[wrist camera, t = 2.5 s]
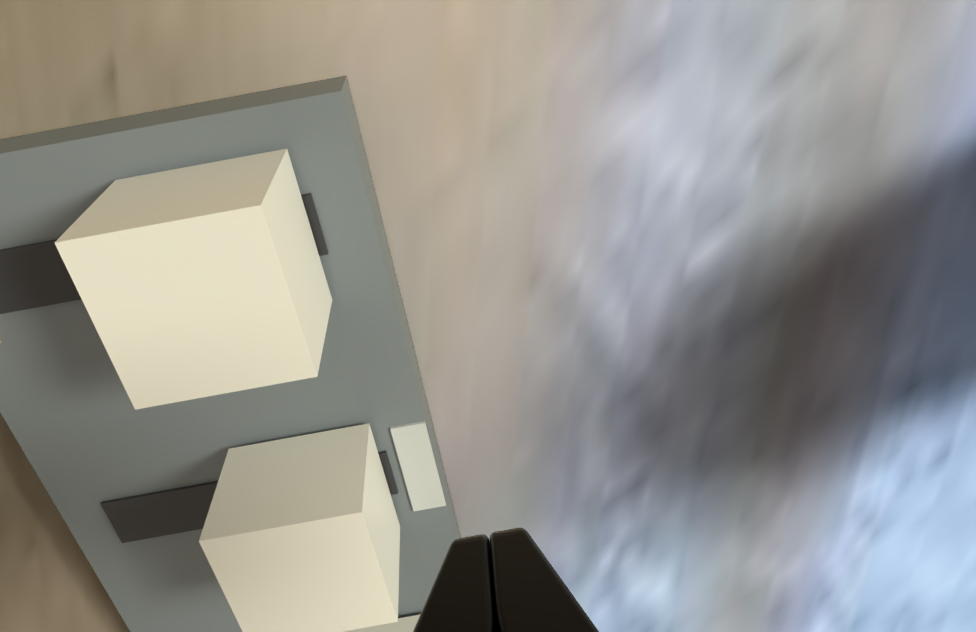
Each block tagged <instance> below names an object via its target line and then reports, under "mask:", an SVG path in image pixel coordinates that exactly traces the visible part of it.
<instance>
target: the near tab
mask: <svg viewBox="0 0 976 632" xmlns="http://www.w3.org/2000/svg"><path fill="white" fill-rule="evenodd" d="M55 245H56V247H57V249H58V251H59V253H60V256H61V258H62V260H63V262H64V264H65V266H66V268H67V270H68V272H69V274H70V276H71V278H72V280H73V282H74V284H75V287H76V289H77V291H78V293H79V295H80V297H81V299H82V301H83V303H84V305H85V307H86V309H87V311H88V313H89V315H90V318H91V320H92V322H93V324H94V326H95V328H96V330H97V332H98V334H99V336H100V338H101V340H102V342H103V344H104V346H105V349H106V351H107V353H108V355H109V357H110V359H111V361H112V363H113V365H114V367H115V369H116V371H117V373H118V375H119V377H120V380H121V382H122V384H123V386H124V388H125V390H126V392H127V394H128V396H129V398H130V400H131V402H132V404H133V406H134V408H135V410H136V409H142V408H147V407H153V406H158V405H164V404H169V403H175V402H181V401H186V400H192V399H197V398H203V397H208V396H214V395H219V394H225V393H230V392H236V391H241V390H247V389H252V388H258V387H264V386H269V385H275V384H280V383H286V382H291V381H297V380H302V379H308V378H313V377H317V376H318V371H319V366H320V361H321V355H322V350H323V345H324V340H325V335H326V330H327V324H328V319H329V314H330V309H331V304H332V297H331V294H330V290H329V287H328V284H327V280H326V277H325V274H324V270H323V267H322V264H321V260H320V257H319V254H318V250H317V247H316V244H315V240H314V237H313V234H312V230H311V227H310V224H309V220H308V217H307V213H306V210H305V207H304V203H303V200H302V197H301V193H300V190H299V187H298V183H297V180H296V177H295V173H294V170H293V167H292V163H291V160H290V157H289V153H288V150H287V149H282V150H276V151H271V152H265V153H260V154H255V155H249V156H244V157H238V158H233V159H227V160H222V161H216V162H211V163H206V164H200V165H195V166H189V167H184V168H178V169H173V170H167V171H162V172H157V173H151V174H146V175H140V176H135V177H129V178H124V179H118V180H115V181H114V182H113V183H112V184H111V185H110V186H109V187H108V188H107V189H106V190H105V191H104V192H103V193H102V194H101V195H100V196H99V197H98V199H97V200H96V201H95V202H94V203H93V204H92V205H91V206H90V207H89V208H88V209H87V210H86V211H85V212H84V213H83V214H82V215H81V216H80V217H79V218H78V219H77V220H76V221H75V222H74V223H73V224H72V225H71V226H70V227H69V228H68V229H67V230H66V231H65V232H64V233H63V234H62V236H61V237H60V238H59V239H58V240H57V241H56V242H55Z"/></svg>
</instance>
